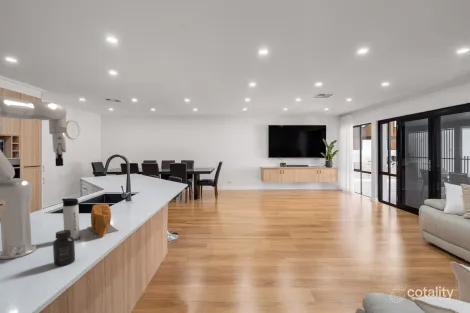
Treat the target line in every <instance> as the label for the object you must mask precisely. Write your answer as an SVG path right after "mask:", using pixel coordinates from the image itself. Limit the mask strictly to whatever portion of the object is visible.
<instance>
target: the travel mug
mask: <svg viewBox="0 0 470 313" xmlns="http://www.w3.org/2000/svg"><path fill="white" fill-rule="evenodd" d="M61 201H62V207H63V208H62V216H63V230H71V237H73V238H74V241H77V240H79V239H80V237H81V236H80V215H79V214H80V213H79V212H80V210H79V199H78V198H74V197H73V198H65V197H64V198H61Z"/></svg>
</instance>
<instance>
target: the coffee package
mask: <svg viewBox="0 0 470 313" xmlns="http://www.w3.org/2000/svg"><path fill="white" fill-rule="evenodd" d="M111 219H112V211H111V208H110V205H109V204H107V203H106V204H105V203H98V204H94V205H92V208H91V212H90V223H91V226H92V231H93V232H95V233H97V234H99V235H98V236H99V238H103V237H104V236H105V235H106V233H107V231H108V228H109V225H111ZM107 234H108V233H107Z"/></svg>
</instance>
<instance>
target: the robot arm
mask: <svg viewBox="0 0 470 313" xmlns="http://www.w3.org/2000/svg"><path fill="white" fill-rule="evenodd" d="M0 118H8V119H20V120H39V121H48V130H49V132H48V133H49V134H50V135H51V137H52V149H53V151H52V152H54V153H55V159H54V160H55V167H63V166H64V158H63V157H64V156H63V155H64V153H66V152H67V146H66V136H65V135H67V134H68V131H67V109H66V107H65V106H63V105H61V104H59V103H54V102H49V101H48V102H47V101H37V100H31V99H30V100H29V99H22V98H17V97H11V96H4V95H0ZM2 129H3V122H2V121H1V119H0V133H1V132H2ZM15 175H16V172H15V168H14V166H13V165H12V164H11V162H10V161H9V159H8V158H7V156H6V155H5V154H4V153H3V151H2V150H1V149H0V202H1V203H4V204H3V207H2V208H1V210H0V234H1V235H0V236H1V237H0V238H1V251H0V260H9V259H15V258H20V257H24V256H26V255H30V254H32V253H33V252H35V251H36V250H37V246H36V245H34V244H32V228H31V227H32V225H31V223H32V221H31V220H32V219H31V199H32V198H31V197H32V193H33V185H32V184H31V182H30V181H28V180H27V179H25V178H19V177H18V178H16V177H15ZM14 177H15V178H14Z"/></svg>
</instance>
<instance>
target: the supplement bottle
mask: <svg viewBox="0 0 470 313" xmlns="http://www.w3.org/2000/svg"><path fill="white" fill-rule="evenodd" d="M75 245H76V244H75V240H74V238H73V237H71V230H64V229H63V230H58V231H56V232H55V240H53V242H52V251H53V253H52V254H53V264H54V265H53V266H56V267H64V266H67V265H71V264H73V263H75V260H76V251H75V250H76V248H75Z"/></svg>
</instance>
